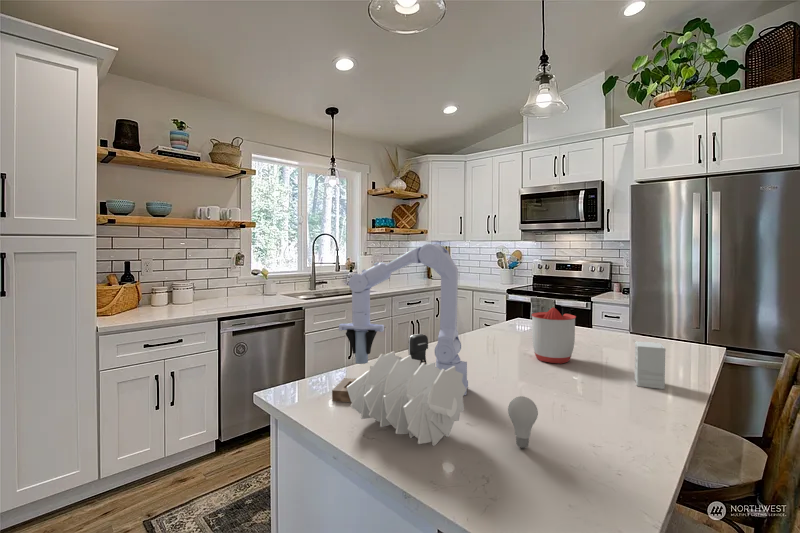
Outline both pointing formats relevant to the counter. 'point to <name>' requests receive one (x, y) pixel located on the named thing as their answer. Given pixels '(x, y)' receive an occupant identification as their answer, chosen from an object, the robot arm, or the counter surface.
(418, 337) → the battery charger
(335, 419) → the counter surface
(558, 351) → the citrus juicer
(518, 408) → the lightbulb
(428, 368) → the spiral staircase
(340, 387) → the socket block
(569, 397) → the counter surface
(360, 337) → the peg
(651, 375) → the supplement box
